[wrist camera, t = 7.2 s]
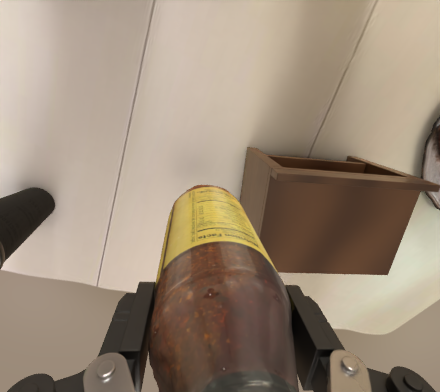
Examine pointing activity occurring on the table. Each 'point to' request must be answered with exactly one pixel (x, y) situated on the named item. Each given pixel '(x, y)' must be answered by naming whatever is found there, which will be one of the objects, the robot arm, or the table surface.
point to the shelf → (328, 212)
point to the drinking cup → (22, 218)
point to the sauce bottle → (219, 303)
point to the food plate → (432, 162)
